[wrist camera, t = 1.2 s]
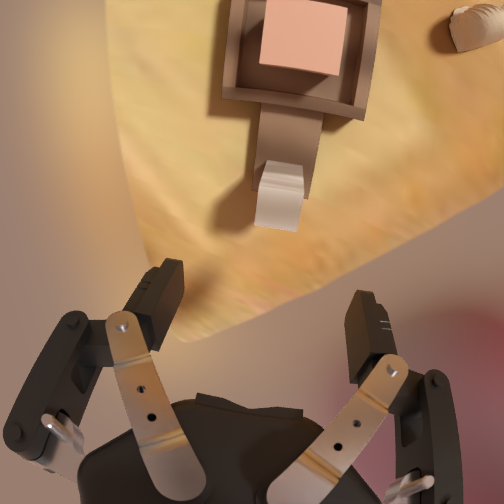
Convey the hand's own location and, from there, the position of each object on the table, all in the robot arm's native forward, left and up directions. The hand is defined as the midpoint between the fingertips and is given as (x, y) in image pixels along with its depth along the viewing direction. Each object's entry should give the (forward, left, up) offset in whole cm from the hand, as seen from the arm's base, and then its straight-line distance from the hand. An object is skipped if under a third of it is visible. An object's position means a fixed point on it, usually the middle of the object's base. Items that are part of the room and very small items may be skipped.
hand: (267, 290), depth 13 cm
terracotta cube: (-12, 0, -14) cm, 19 cm away
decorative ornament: (-20, +16, -16) cm, 30 cm away
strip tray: (-8, 0, -15) cm, 17 cm away
